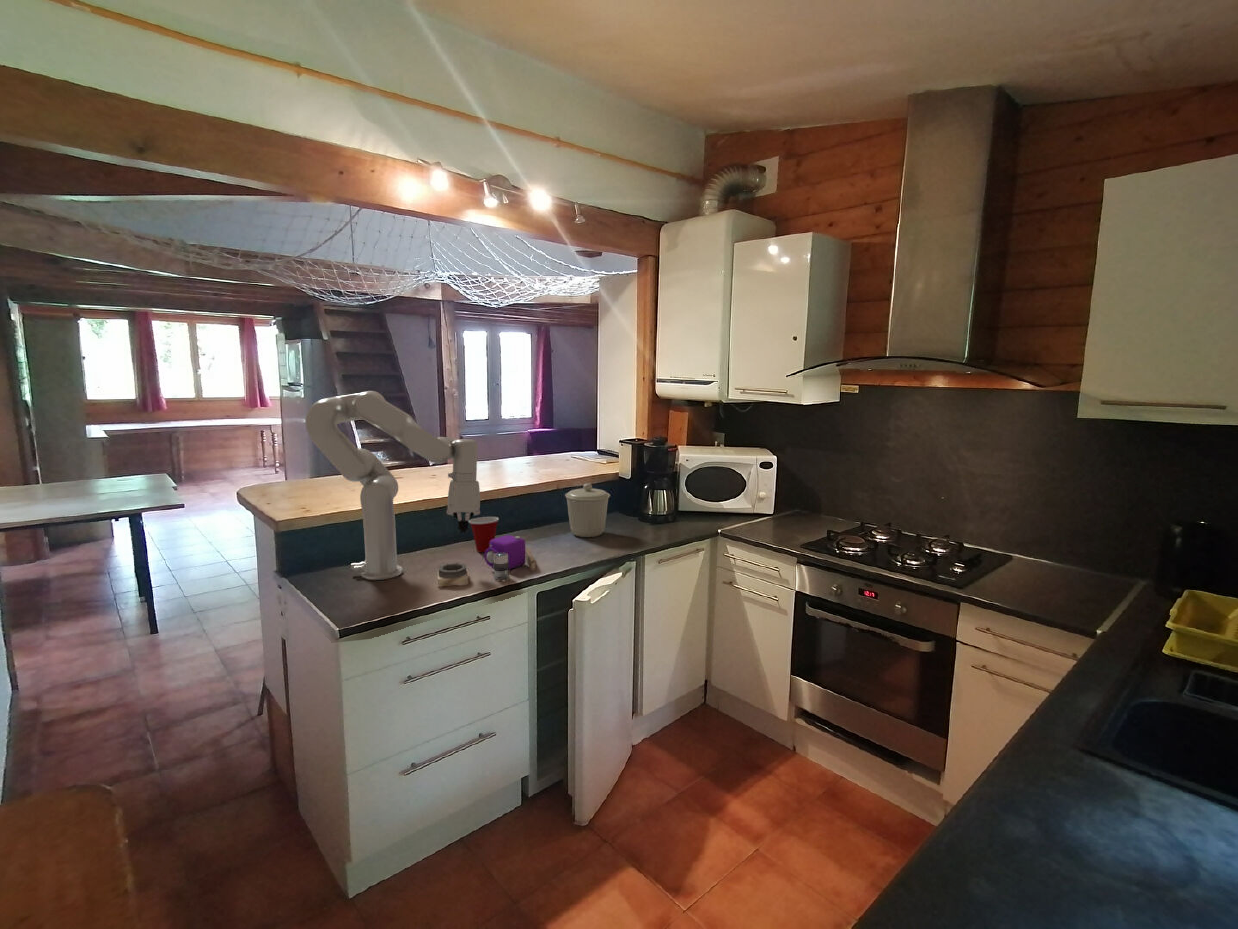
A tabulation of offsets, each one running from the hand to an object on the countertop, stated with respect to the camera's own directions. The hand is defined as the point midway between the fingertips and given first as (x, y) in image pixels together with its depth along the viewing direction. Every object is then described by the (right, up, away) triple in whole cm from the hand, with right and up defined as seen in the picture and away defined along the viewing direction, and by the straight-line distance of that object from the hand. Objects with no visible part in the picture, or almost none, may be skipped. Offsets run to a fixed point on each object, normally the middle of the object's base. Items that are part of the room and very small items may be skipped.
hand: (462, 531), depth 200 cm
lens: (+14, -15, -5) cm, 21 cm away
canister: (+39, -7, +47) cm, 62 cm away
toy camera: (+12, -13, +7) cm, 19 cm away
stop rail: (+21, -12, +10) cm, 26 cm away
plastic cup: (+2, -10, +24) cm, 26 cm away
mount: (-1, -15, -8) cm, 17 cm away
